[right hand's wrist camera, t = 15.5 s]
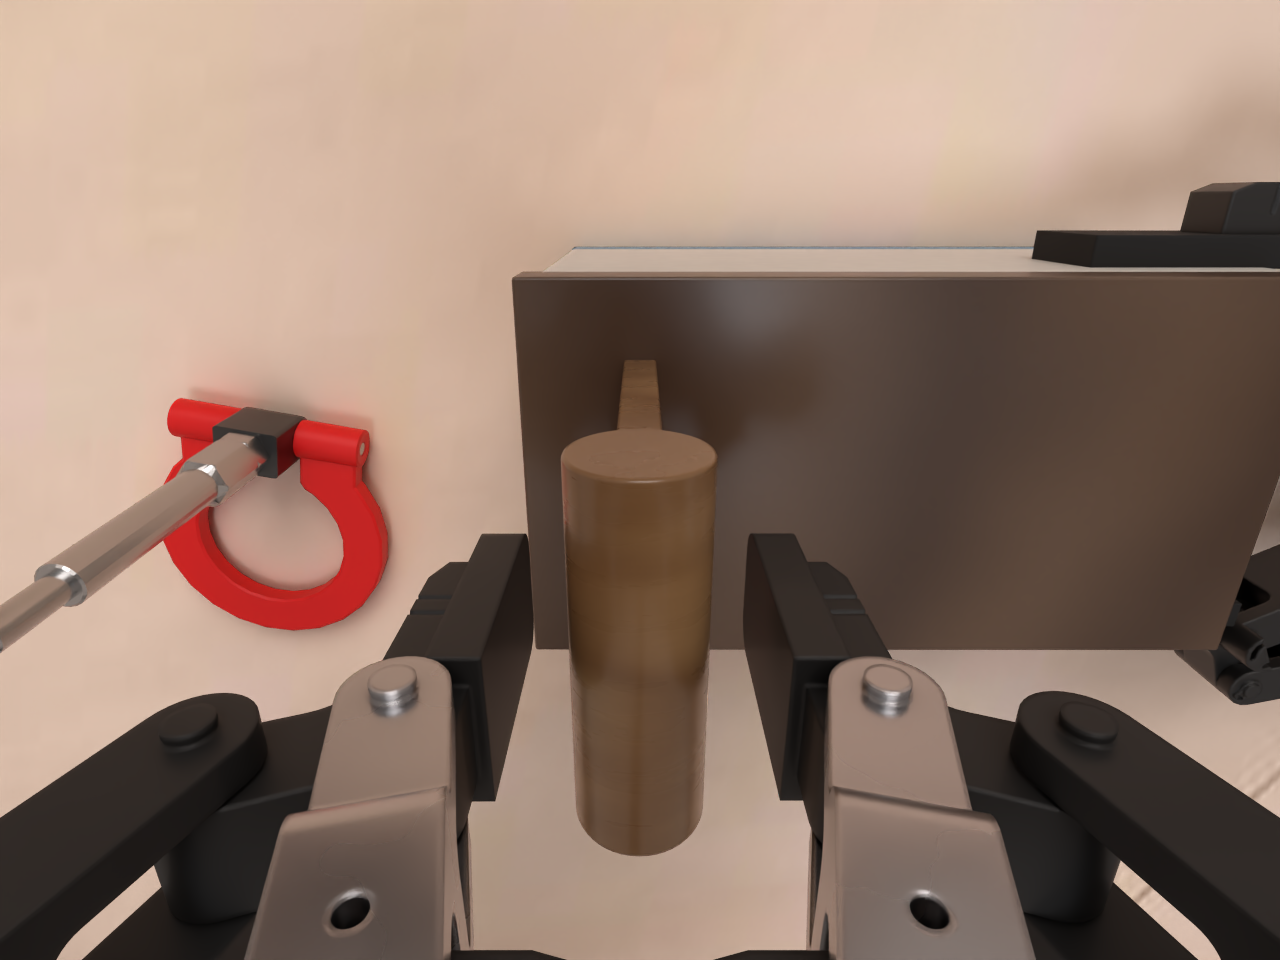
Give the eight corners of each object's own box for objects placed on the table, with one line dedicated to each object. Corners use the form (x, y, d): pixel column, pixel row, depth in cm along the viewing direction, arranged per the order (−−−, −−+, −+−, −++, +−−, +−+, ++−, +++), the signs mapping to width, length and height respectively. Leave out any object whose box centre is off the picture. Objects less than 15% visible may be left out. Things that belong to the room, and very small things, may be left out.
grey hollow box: (582, 497, 27) (558, 622, 19) (574, 246, 24) (541, 270, 16) (1022, 497, 27) (1182, 622, 19) (1076, 246, 24) (1298, 271, 16)
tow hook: (388, 629, 30) (397, 426, 26) (217, 932, 18) (188, 643, 14) (184, 596, 29) (164, 385, 26) (-127, 888, 18) (-251, 575, 14)
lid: (542, 622, 19) (469, 931, 11) (520, 271, 16) (394, 346, 8) (1183, 623, 19) (1578, 933, 11) (1299, 271, 16) (1993, 346, 8)
